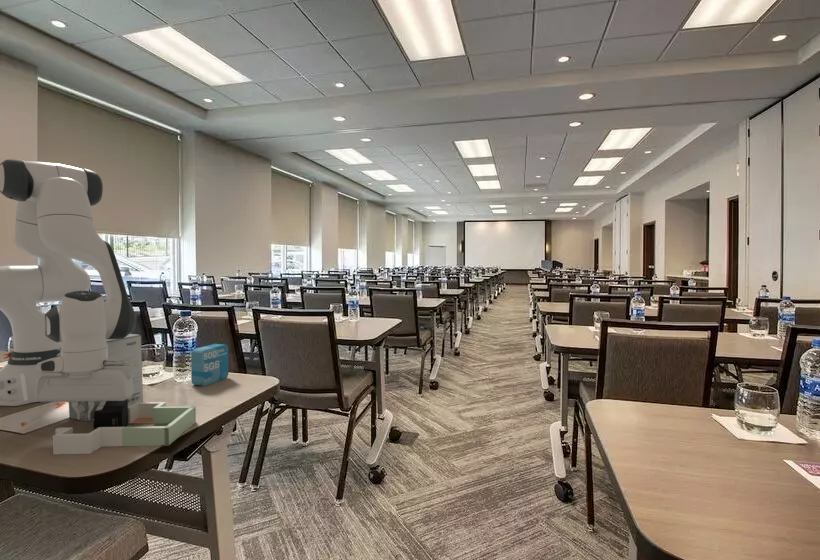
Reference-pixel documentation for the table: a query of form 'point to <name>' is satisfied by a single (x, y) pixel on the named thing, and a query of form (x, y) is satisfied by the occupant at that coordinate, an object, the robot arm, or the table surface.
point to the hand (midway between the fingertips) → (86, 418)
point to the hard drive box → (132, 355)
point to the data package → (209, 364)
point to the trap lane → (130, 429)
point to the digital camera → (112, 415)
